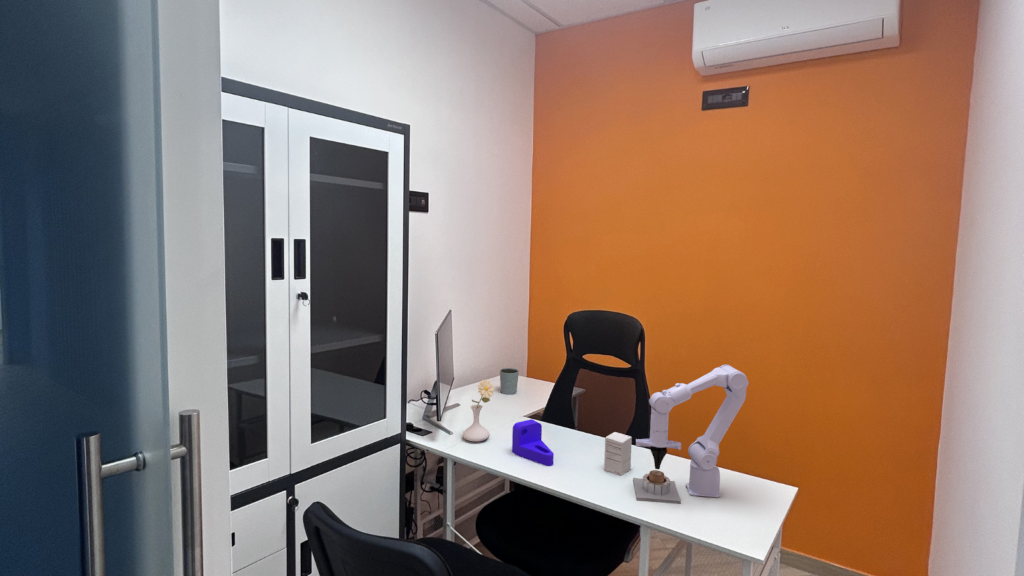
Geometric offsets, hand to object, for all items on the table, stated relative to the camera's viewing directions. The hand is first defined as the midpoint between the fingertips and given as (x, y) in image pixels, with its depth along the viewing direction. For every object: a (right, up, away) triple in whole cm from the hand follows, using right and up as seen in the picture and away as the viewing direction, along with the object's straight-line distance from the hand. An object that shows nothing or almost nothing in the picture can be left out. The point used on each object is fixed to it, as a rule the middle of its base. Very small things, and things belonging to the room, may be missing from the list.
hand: (657, 468), depth 184 cm
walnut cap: (0, -7, +1) cm, 7 cm away
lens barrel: (0, -8, +1) cm, 8 cm away
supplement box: (-10, -7, +17) cm, 21 cm away
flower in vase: (-63, -2, +44) cm, 77 cm away
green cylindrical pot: (-50, +5, +108) cm, 119 cm away
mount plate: (0, -8, +1) cm, 8 cm away
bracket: (-39, -5, +27) cm, 48 cm away
